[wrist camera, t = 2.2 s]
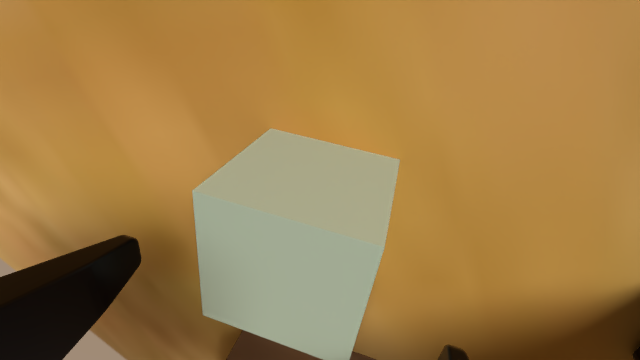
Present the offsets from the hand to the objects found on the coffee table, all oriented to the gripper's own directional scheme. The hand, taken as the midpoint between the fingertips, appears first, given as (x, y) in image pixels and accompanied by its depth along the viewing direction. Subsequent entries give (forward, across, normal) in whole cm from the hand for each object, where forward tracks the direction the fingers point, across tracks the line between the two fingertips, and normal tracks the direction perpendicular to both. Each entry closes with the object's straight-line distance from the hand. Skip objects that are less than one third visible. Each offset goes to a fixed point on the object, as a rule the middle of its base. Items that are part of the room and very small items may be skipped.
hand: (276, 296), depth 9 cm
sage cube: (+5, 0, 0) cm, 5 cm away
